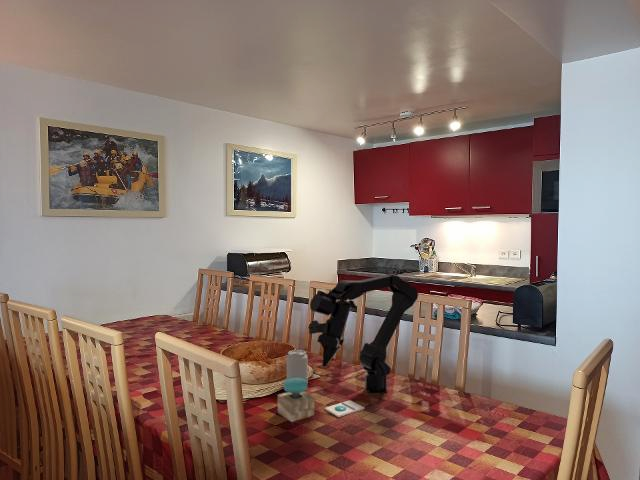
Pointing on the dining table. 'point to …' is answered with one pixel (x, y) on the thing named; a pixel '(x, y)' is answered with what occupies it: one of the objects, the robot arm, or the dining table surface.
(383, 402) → the dining table surface
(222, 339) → the dining table surface
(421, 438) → the dining table surface
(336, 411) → the pattern card
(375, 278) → the robot arm
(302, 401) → the marble textured cube
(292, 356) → the can
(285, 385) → the button
